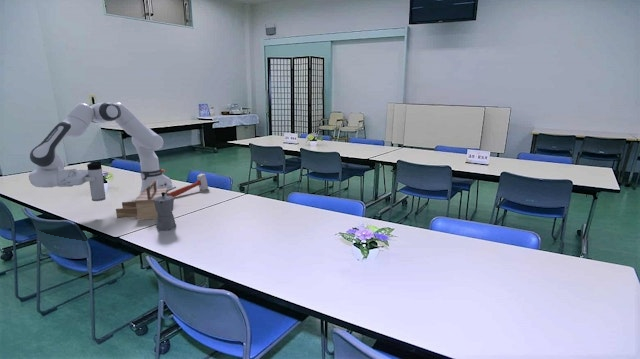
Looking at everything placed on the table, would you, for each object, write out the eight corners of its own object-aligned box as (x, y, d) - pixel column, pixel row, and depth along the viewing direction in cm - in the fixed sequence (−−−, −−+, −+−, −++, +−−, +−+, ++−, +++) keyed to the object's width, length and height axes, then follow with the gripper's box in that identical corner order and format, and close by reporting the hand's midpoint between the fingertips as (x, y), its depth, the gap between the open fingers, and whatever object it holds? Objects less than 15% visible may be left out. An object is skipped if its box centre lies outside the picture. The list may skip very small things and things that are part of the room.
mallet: (167, 190, 219) (205, 173, 243) (164, 189, 221) (202, 173, 245) (171, 206, 223) (208, 188, 247) (168, 205, 224) (205, 187, 249)
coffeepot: (174, 231, 171) (171, 195, 167) (153, 233, 169) (149, 196, 164) (179, 220, 185) (176, 187, 181) (159, 221, 183) (156, 188, 179)
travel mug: (109, 198, 191) (104, 161, 187) (98, 201, 185) (92, 164, 181) (100, 197, 193) (95, 161, 189) (89, 200, 187) (83, 163, 182)
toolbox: (125, 208, 204) (122, 180, 200) (169, 205, 210) (166, 178, 206) (114, 221, 183) (110, 190, 179) (163, 218, 189) (160, 188, 185)
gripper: (57, 176, 172) (90, 175, 176) (74, 168, 192) (103, 167, 195) (59, 189, 174) (91, 187, 177) (76, 179, 193) (104, 178, 197)
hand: (98, 177), depth 186 cm, fingers closed on travel mug, 6 cm apart
